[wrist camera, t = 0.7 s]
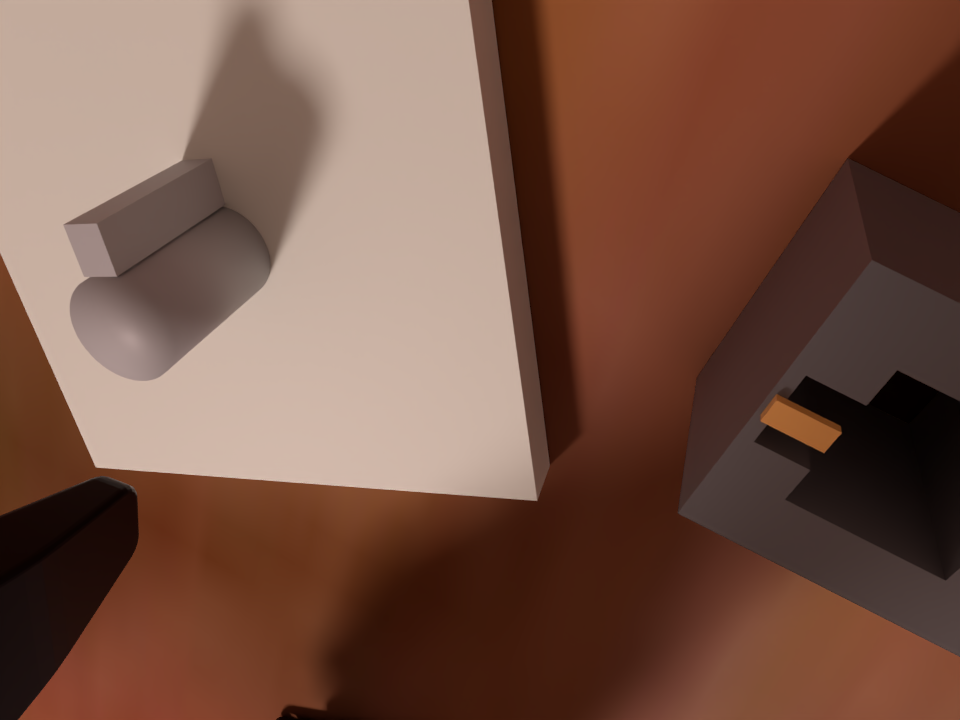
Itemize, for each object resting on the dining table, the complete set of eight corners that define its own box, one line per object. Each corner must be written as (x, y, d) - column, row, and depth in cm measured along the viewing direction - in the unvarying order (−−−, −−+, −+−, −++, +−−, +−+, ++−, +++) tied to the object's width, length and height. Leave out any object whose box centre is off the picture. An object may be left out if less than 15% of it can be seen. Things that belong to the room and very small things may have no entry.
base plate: (549, 465, 23) (495, 618, 18) (126, 439, 27) (-2, 557, 23) (475, -126, 16) (360, -114, 12) (-71, -35, 21) (-307, 1, 16)
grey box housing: (1124, 293, 17) (1245, 449, 12) (924, 492, 20) (965, 666, 16) (847, 157, 17) (873, 265, 13) (696, 377, 20) (676, 520, 16)
